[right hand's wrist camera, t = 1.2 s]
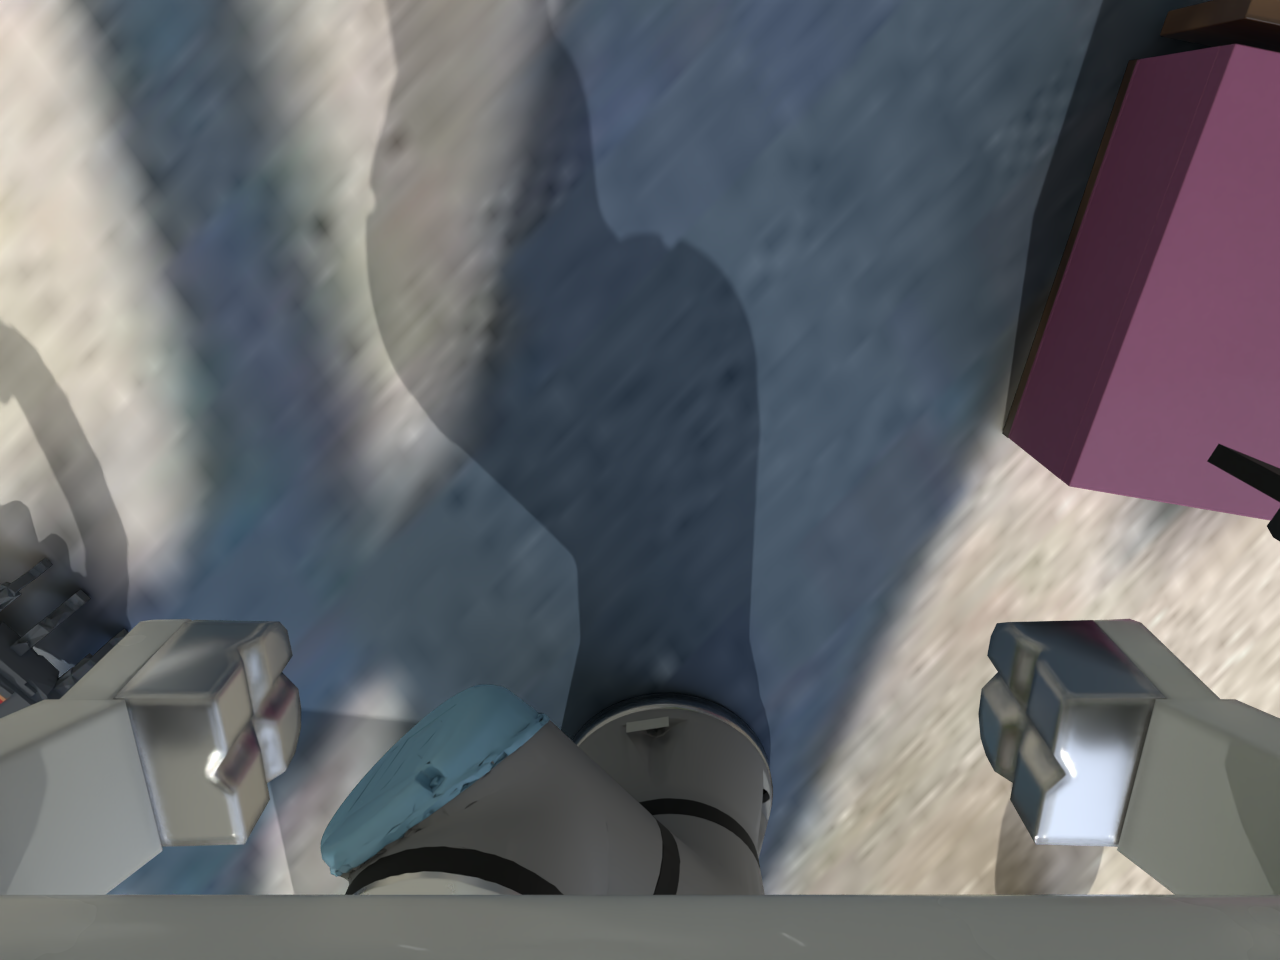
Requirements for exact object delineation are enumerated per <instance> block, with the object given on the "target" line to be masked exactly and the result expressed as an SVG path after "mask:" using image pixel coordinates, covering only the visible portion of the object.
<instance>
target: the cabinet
mask: <svg viewBox="0 0 1280 960" xmlns="http://www.w3.org/2000/svg"><path fill="white" fill-rule="evenodd" d="M1002 434H1004V435H1005V436H1006V437H1007V438H1010V439H1011V440H1012V441H1013V442H1014V443H1016V444H1017V445H1018V446H1019V447H1021V448H1022V449H1023V450H1024V451H1026V452H1027V453H1028V454H1029V455H1031V456H1032V457H1033V458H1034V459H1036V460H1037V461H1038V462H1039V463H1041V464H1042V465H1043V466H1044V467H1046V468H1047V469H1048V470H1049V471H1051V472H1052V473H1053V474H1054V475H1056V476H1057V477H1058V478H1059V479H1061V480H1062V481H1063V482H1065V483H1066V484H1067V485H1068V486H1071V487H1077V488H1082V489H1088V490H1094V491H1100V492H1106V493H1112V494H1118V495H1124V496H1130V497H1136V498H1141V499H1147V500H1153V501H1159V502H1165V503H1171V504H1177V505H1183V506H1189V507H1194V508H1200V509H1206V510H1212V511H1218V512H1224V513H1230V514H1236V515H1242V516H1248V517H1253V518H1259V519H1265V520H1271V519H1272V518H1273V517H1274V515H1275V514H1276V512H1277V511H1278V510H1279V508H1280V502H1278V501H1276V500H1275V499H1273V498H1271V497H1269V496H1268V495H1266V494H1264V493H1262V492H1261V491H1259V490H1257V489H1255V488H1253V487H1252V486H1250V485H1248V484H1246V483H1245V482H1243V481H1241V480H1239V479H1237V478H1236V477H1234V476H1232V475H1230V474H1229V473H1227V472H1225V471H1223V470H1221V469H1220V468H1218V467H1216V466H1214V465H1213V464H1211V463H1209V462H1207V461H1208V459H1209V458H1210V456H1211V454H1212V453H1213V451H1214V450H1215V448H1216V447H1217V445H1218V444H1221V445H1224V446H1226V447H1228V448H1231V449H1233V450H1236V451H1238V452H1241V453H1243V454H1246V455H1248V456H1251V457H1253V458H1256V459H1258V460H1260V461H1263V462H1265V463H1268V464H1270V465H1273V466H1275V467H1278V468H1280V52H1275V51H1270V50H1266V49H1261V48H1256V47H1251V46H1246V45H1241V44H1230V45H1224V46H1217V47H1211V48H1205V49H1199V50H1193V51H1187V52H1181V53H1175V54H1169V55H1163V56H1157V57H1151V58H1144V59H1135V60H1129V62H1128V65H1127V68H1126V71H1125V74H1124V77H1123V80H1122V83H1121V86H1120V89H1119V92H1118V95H1117V98H1116V101H1115V104H1114V107H1113V109H1112V112H1111V115H1110V118H1109V121H1108V124H1107V127H1106V130H1105V133H1104V136H1103V139H1102V142H1101V145H1100V148H1099V151H1098V154H1097V157H1096V160H1095V162H1094V165H1093V168H1092V171H1091V174H1090V177H1089V180H1088V183H1087V186H1086V189H1085V192H1084V195H1083V198H1082V201H1081V204H1080V207H1079V210H1078V212H1077V215H1076V218H1075V221H1074V224H1073V227H1072V230H1071V233H1070V236H1069V239H1068V242H1067V245H1066V248H1065V251H1064V254H1063V257H1062V260H1061V263H1060V265H1059V268H1058V271H1057V274H1056V277H1055V280H1054V283H1053V286H1052V289H1051V292H1050V295H1049V298H1048V301H1047V304H1046V307H1045V310H1044V313H1043V315H1042V318H1041V321H1040V324H1039V327H1038V330H1037V333H1036V336H1035V339H1034V342H1033V345H1032V348H1031V351H1030V354H1029V357H1028V360H1027V363H1026V366H1025V368H1024V371H1023V374H1022V377H1021V380H1020V383H1019V386H1018V389H1017V392H1016V395H1015V398H1014V401H1013V404H1012V407H1011V410H1010V413H1009V416H1008V418H1007V421H1006V424H1005V427H1004V430H1003V433H1002Z"/></svg>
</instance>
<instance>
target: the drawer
mask: <svg viewBox="0 0 1280 960" xmlns="http://www.w3.org/2000/svg"><path fill="white" fill-rule="evenodd" d="M1160 36H1162V37H1167V38H1172V39H1177V40H1182V41H1187V42H1191V43H1196V44H1201V45H1206V46H1211V47H1217V46H1224V45H1230V44H1241V45H1246V46H1251V47H1256V48H1261V49H1266V50H1270V51H1275V52H1280V0H1212V1H1208V2H1204V3H1200V4H1196V5H1192V6H1188V7H1184V8H1180V9H1176V10H1172V11H1169V12H1168V14H1167V16H1166V19H1165V22H1164V25H1163V28H1162V31H1161V34H1160Z"/></svg>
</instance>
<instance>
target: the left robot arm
mask: <svg viewBox="0 0 1280 960" xmlns="http://www.w3.org/2000/svg"><path fill="white" fill-rule="evenodd" d="M1207 462H1209V463H1211V464H1213V465H1214V466H1216V467H1218V468H1220V469H1221V470H1223V471H1225V472H1227V473H1229V474H1230V475H1232V476H1234V477H1236V478H1237V479H1239V480H1241V481H1243V482H1245V483H1246V484H1248V485H1250V486H1252V487H1253V488H1255V489H1257V490H1259V491H1261V492H1262V493H1264V494H1266V495H1268V496H1269V497H1271V498H1273V499H1275V500H1276V501H1278V502H1280V468H1278V467H1275V466H1273V465H1270V464H1268V463H1265V462H1263V461H1260V460H1258V459H1256V458H1253V457H1251V456H1248V455H1246V454H1243V453H1241V452H1238V451H1236V450H1233V449H1231V448H1228V447H1226V446H1224V445H1221V444H1218V445H1217V447H1216V448H1215V450H1214V451H1213V453H1212V454H1211V456H1210V458H1209V459H1208V461H1207ZM1267 527H1268V529H1269V531H1270V533H1271V534H1272V536H1273V537H1274V538H1275V539H1277V540H1278V541H1280V508H1279V510H1278V511H1277V512H1276V514H1275V515H1274V517H1273V518H1272V519H1271V521H1270V522H1269V524H1268V525H1267ZM772 799H773V786H772V779H771V774H770V769H769V764H768V760H767V756H766V753H765V751H764V748H763V746H762V744H761V743H760V741H759V739H758V738H757V736H756V735H755V733H754V732H753V731H752V730H751V728H750V727H749V726H748V725H747V724H746V723H745V722H744V721H743V720H742V719H740V718H739V717H738V716H737V715H735V714H734V713H732V712H731V711H729V710H728V709H726V708H724V707H722V706H720V705H718V704H716V703H714V702H711V701H708V700H706V699H702V698H699V697H695V696H690V695H685V694H675V693H659V694H649V695H642V696H638V697H633V698H630V699H627V700H624V701H621V702H619V703H616V704H614V705H612V706H610V707H608V708H606V709H604V710H603V711H601V712H600V713H598V714H597V715H595V716H594V717H593V718H592V719H590V720H589V721H588V722H587V723H586V724H585V725H584V726H583V727H582V728H581V729H580V730H579V732H578V733H577V734H576V735H575V737H574V738H573V740H571V739H570V738H568V737H567V736H566V735H565V734H564V733H563V732H562V731H561V730H560V729H559V728H558V727H557V726H555V725H554V724H553V723H552V722H551V721H550V720H549V717H548V716H547V715H546V714H544V713H538V712H537V711H535V710H534V709H533V708H531V707H530V706H529V705H528V704H526V703H525V702H524V701H522V700H521V699H520V698H519V697H517V696H516V695H515V694H513V693H512V692H511V691H510V690H508V689H507V688H504V687H502V686H496V685H477V686H473V687H470V688H468V689H466V690H464V691H462V692H460V693H458V694H456V695H455V696H453V697H452V698H450V699H448V700H447V701H445V702H444V703H443V704H441V705H440V706H438V707H437V708H436V709H434V710H433V711H432V712H431V713H429V714H428V715H427V716H426V717H424V718H423V719H422V720H421V721H420V722H419V723H417V724H416V725H415V726H414V727H413V728H412V729H411V730H410V731H408V732H407V733H406V734H405V735H404V736H403V737H402V738H401V739H400V740H399V741H398V742H397V743H396V744H395V745H394V746H393V747H392V748H391V749H390V750H389V751H388V752H387V753H386V754H385V755H384V756H383V757H382V758H381V759H380V760H379V761H378V762H377V763H376V764H375V765H374V766H373V767H372V768H371V770H370V771H369V772H368V773H367V774H366V775H365V776H364V777H363V779H362V780H361V781H360V782H359V783H358V784H357V786H356V787H355V788H354V789H353V791H352V792H351V793H350V794H349V796H348V797H347V798H346V799H345V801H344V802H343V803H342V805H341V806H340V807H339V809H338V810H337V812H336V813H335V815H334V816H333V818H332V819H331V821H330V823H329V824H328V826H327V828H326V830H325V832H324V834H323V837H322V840H321V854H322V859H323V860H324V861H325V863H326V864H327V865H328V866H329V867H330V872H331V874H333V875H335V876H336V877H337V876H341V877H343V878H345V879H346V880H348V881H349V887H348V889H347V892H346V894H345V895H764V889H763V883H762V877H761V872H760V866H759V859H758V858H759V854H760V851H761V847H762V843H763V839H764V835H765V831H766V827H767V823H768V819H769V815H770V811H771V806H772Z"/></svg>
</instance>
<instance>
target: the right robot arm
mask: <svg viewBox="0 0 1280 960" xmlns="http://www.w3.org/2000/svg"><path fill="white" fill-rule="evenodd" d="M292 656H293V655H292V650H291V645H290V641H289V636H288V631H287V629H286V628H285V627H284V626H283V625H282V624H281V623H280V622H276V621H223V620H193V621H192V620H189V619H173V620H149V621H142V622H140V623H138V624H137V625H136V626H135V627H134V628H133V629H132V630H131V631H130V632H129V633H128V634H127V635H126V636H125V637H124V638H123V639H122V640H121V641H120V642H119V643H118V644H117V645H116V646H115V647H113V648H112V649H111V650H110V651H109V652H108V653H107V654H106V655H105V656H104V657H103V658H102V659H101V660H100V661H99V662H98V663H97V664H96V665H95V666H94V667H93V668H92V669H91V670H90V671H89V672H87V673H86V674H85V675H84V676H83V677H82V678H81V679H80V680H79V681H78V682H77V683H76V684H75V685H74V686H73V687H72V688H71V689H70V690H69V691H68V692H67V693H66V694H65V695H64V696H62V697H61V698H60V699H48V700H42V701H40V702H38V703H35V704H33V705H31V706H28V707H26V708H24V709H21V710H19V711H17V712H14V713H12V714H10V715H7V716H5V717H3V718H0V960H1280V718H1277V717H1275V716H1273V715H1270V714H1268V713H1266V712H1263V711H1261V710H1259V709H1256V708H1254V707H1252V706H1249V705H1247V704H1245V703H1242V702H1240V701H1238V700H1233V699H1220V698H1219V697H1218V696H1217V695H1216V694H1214V693H1213V692H1212V691H1211V690H1210V689H1209V688H1208V687H1207V686H1206V685H1205V684H1204V683H1203V682H1202V681H1201V680H1200V679H1199V678H1198V677H1197V676H1196V675H1195V674H1194V673H1193V672H1192V671H1191V670H1190V669H1189V668H1187V667H1186V666H1185V665H1184V664H1183V663H1182V662H1181V661H1180V660H1179V659H1178V658H1177V657H1176V656H1175V655H1174V654H1173V653H1172V652H1171V651H1170V650H1169V649H1168V648H1167V647H1166V646H1165V645H1164V644H1163V643H1162V642H1161V641H1159V640H1158V639H1157V638H1156V637H1155V636H1154V635H1153V634H1152V633H1151V632H1150V631H1149V630H1148V629H1147V628H1146V627H1145V626H1144V625H1143V624H1142V623H1140V622H1137V621H1134V620H1131V619H1114V620H1080V621H1039V622H1006V623H997V624H996V627H995V629H994V631H993V633H992V635H991V639H990V644H989V650H988V655H987V656H988V657H989V659H990V660H991V662H992V663H993V665H994V666H995V668H996V669H997V671H998V673H997V674H996V675H995V676H994V677H993V678H992V679H991V680H990V681H989V682H988V683H987V684H986V685H985V686H984V687H983V688H982V691H981V699H980V707H979V724H980V735H981V740H982V744H983V747H984V750H985V753H986V756H987V758H988V760H989V762H990V764H991V765H992V767H993V769H994V771H995V772H997V773H998V774H1000V775H1001V776H1003V777H1005V778H1006V779H1008V780H1009V781H1011V782H1012V783H1013V787H1012V792H1011V798H1010V800H1011V802H1012V803H1013V805H1014V807H1015V809H1016V810H1017V812H1018V814H1019V816H1020V817H1021V819H1022V821H1023V823H1024V825H1025V826H1026V828H1027V830H1028V832H1029V833H1030V835H1031V837H1032V839H1033V840H1034V842H1035V844H1043V845H1080V846H1117V847H1118V849H1117V850H1118V851H1119V852H1120V853H1122V854H1123V855H1124V856H1125V857H1127V858H1128V859H1129V860H1131V861H1132V862H1133V863H1135V864H1136V865H1137V866H1138V867H1140V868H1141V869H1142V870H1144V871H1145V872H1146V873H1148V874H1149V875H1150V876H1151V877H1153V878H1154V879H1155V880H1157V881H1158V882H1159V883H1161V884H1162V885H1163V886H1164V887H1166V888H1167V889H1168V890H1170V891H1171V892H1172V893H1174V894H1175V895H105V894H107V893H108V892H109V891H111V890H112V889H113V888H115V887H116V886H117V885H118V884H120V883H121V882H122V881H124V880H125V879H126V878H128V877H129V876H130V875H131V874H133V873H134V872H135V871H137V870H138V869H139V868H141V867H142V866H143V865H144V864H146V863H147V862H148V861H150V860H151V859H152V858H154V857H155V856H156V855H157V854H159V853H160V852H161V851H162V850H163V849H162V847H163V846H199V845H234V844H245V842H246V841H247V839H248V837H249V835H250V833H251V832H252V830H253V828H254V826H255V825H256V823H257V821H258V819H259V818H260V816H261V814H262V812H263V810H264V809H265V807H266V805H267V803H268V802H269V800H270V798H269V792H268V787H267V783H268V782H269V781H271V780H272V779H274V778H275V777H277V776H279V775H280V774H282V773H283V772H285V771H286V769H287V767H288V765H289V763H290V762H291V760H292V758H293V756H294V754H295V751H296V747H297V742H298V738H299V734H300V729H301V704H300V697H299V691H298V688H297V687H296V686H295V685H294V684H293V683H292V682H291V681H290V680H289V679H288V678H287V677H286V676H285V675H284V674H283V673H282V671H283V669H284V668H285V666H286V665H287V663H288V662H289V660H290V659H291V657H292Z"/></svg>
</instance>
